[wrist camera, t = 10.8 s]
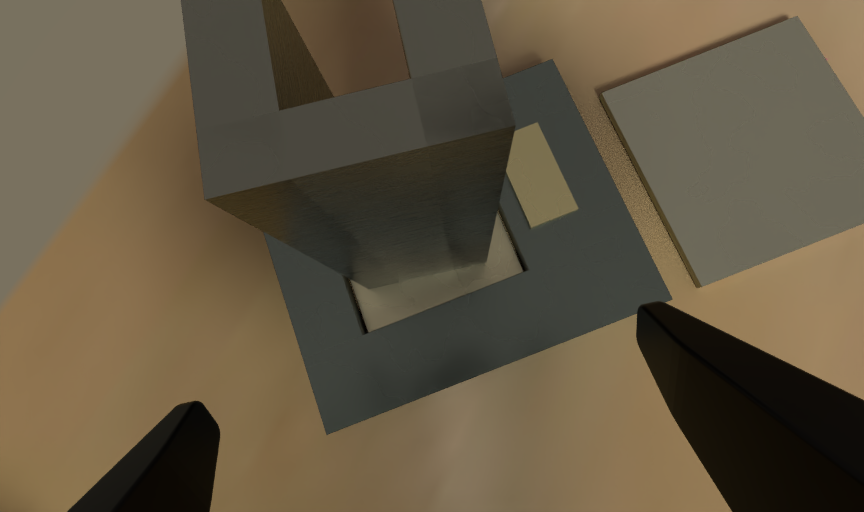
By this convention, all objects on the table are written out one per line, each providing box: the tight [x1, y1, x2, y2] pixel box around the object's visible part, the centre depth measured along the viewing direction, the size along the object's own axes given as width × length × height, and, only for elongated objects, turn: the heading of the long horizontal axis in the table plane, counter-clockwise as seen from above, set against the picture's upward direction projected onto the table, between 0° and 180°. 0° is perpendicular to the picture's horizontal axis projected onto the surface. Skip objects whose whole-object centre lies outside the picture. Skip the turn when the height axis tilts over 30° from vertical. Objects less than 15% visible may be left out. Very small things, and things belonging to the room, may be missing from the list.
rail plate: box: [264, 59, 672, 435], centre depth 19 cm, size 11×14×1 cm
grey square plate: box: [599, 16, 864, 288], centre depth 19 cm, size 9×9×1 cm
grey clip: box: [181, 0, 516, 289], centre depth 13 cm, size 4×5×12 cm
